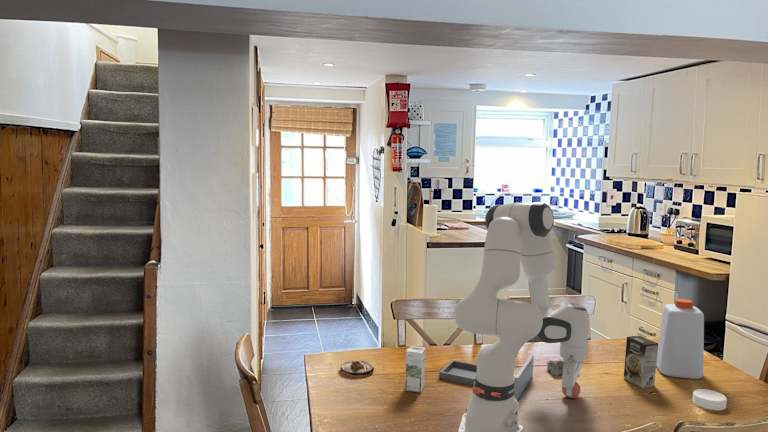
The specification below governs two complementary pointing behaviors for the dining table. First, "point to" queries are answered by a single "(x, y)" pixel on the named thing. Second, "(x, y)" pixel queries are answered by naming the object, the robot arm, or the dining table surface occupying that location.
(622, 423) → the dining table surface
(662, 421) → the dining table surface
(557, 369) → the egg carton
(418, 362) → the syrup box
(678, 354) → the plastic bottle
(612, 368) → the dining table surface
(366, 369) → the dark rimmed plate
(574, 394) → the rubber ball
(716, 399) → the white round lid
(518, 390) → the slate plastic wall
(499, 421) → the robot arm
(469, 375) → the charcoal tray
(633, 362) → the coffee box
